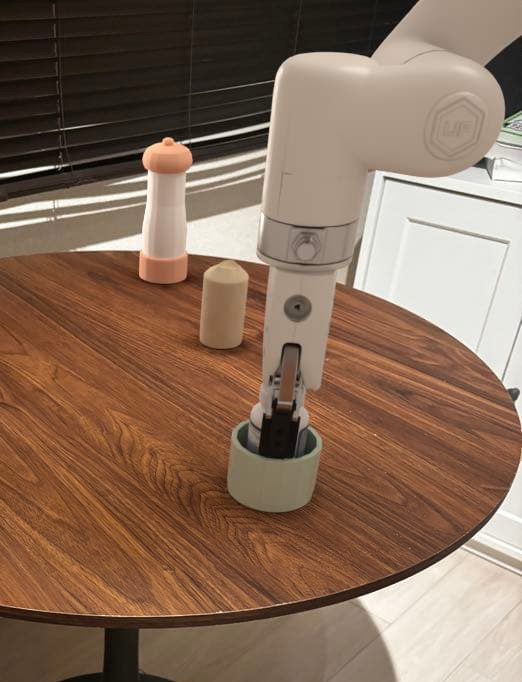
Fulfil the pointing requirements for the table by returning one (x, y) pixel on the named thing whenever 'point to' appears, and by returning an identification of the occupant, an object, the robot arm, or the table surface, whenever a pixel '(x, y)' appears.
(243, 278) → the candle
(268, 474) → the cup
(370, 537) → the table surface
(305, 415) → the pill bottle
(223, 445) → the table surface
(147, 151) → the pepper shaker
